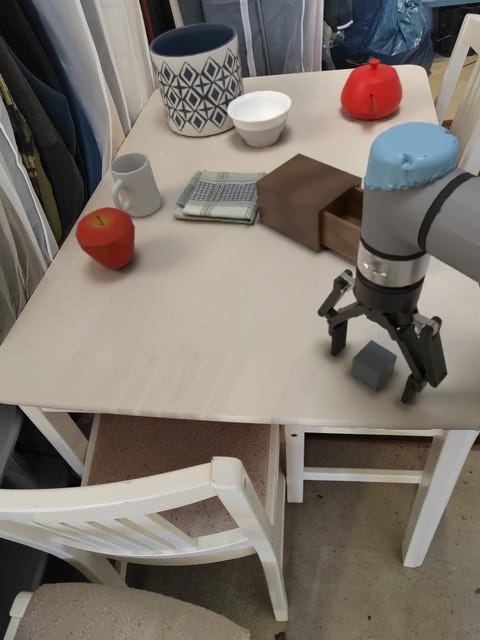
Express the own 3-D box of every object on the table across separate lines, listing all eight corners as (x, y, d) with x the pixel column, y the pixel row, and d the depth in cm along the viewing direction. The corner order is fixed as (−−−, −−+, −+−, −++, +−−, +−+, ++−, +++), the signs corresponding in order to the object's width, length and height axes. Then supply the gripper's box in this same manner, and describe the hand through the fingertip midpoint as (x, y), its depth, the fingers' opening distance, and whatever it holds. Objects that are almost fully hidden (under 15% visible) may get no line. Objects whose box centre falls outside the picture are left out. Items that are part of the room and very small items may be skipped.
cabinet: (358, 219, 89) (362, 178, 82) (317, 253, 85) (318, 211, 77) (299, 193, 98) (298, 152, 90) (259, 221, 93) (255, 182, 86)
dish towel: (270, 177, 103) (269, 165, 100) (253, 226, 92) (252, 214, 90) (196, 175, 107) (193, 163, 105) (171, 222, 97) (167, 209, 94)
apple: (132, 285, 85) (110, 236, 76) (84, 279, 88) (57, 231, 79) (153, 247, 92) (136, 198, 83) (108, 243, 95) (86, 195, 86)
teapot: (343, 91, 126) (345, 44, 117) (400, 89, 122) (407, 40, 113) (335, 136, 111) (337, 86, 102) (400, 136, 107) (408, 83, 98)
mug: (139, 192, 106) (124, 149, 98) (168, 198, 103) (155, 154, 94) (109, 223, 99) (91, 180, 91) (140, 229, 96) (124, 186, 88)
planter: (255, 126, 119) (246, 43, 104) (174, 146, 118) (153, 64, 103) (236, 93, 134) (226, 16, 118) (164, 110, 133) (145, 34, 117)
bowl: (220, 149, 114) (215, 117, 107) (248, 120, 122) (245, 88, 116) (277, 158, 108) (274, 124, 101) (302, 126, 116) (301, 93, 110)
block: (393, 372, 66) (397, 355, 63) (375, 391, 64) (378, 375, 61) (368, 356, 68) (371, 339, 65) (350, 374, 67) (352, 357, 63)
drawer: (429, 250, 80) (438, 215, 74) (392, 285, 76) (399, 251, 70) (345, 212, 90) (347, 178, 84) (308, 241, 86) (308, 208, 80)
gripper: (288, 241, 55) (294, 345, 71) (477, 343, 42) (431, 441, 58) (327, 211, 58) (324, 317, 74) (515, 298, 45) (461, 403, 61)
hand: (371, 372), depth 66 cm, fingers open, 12 cm apart
